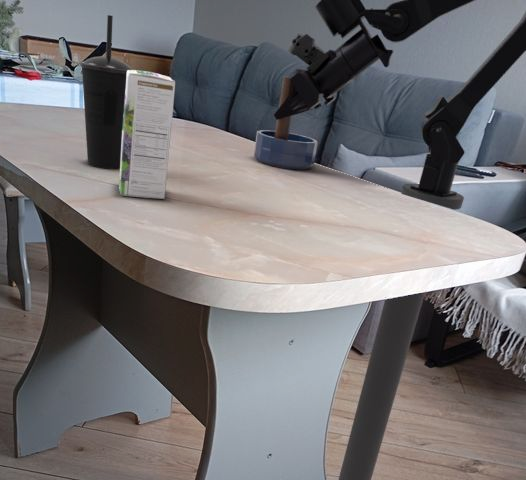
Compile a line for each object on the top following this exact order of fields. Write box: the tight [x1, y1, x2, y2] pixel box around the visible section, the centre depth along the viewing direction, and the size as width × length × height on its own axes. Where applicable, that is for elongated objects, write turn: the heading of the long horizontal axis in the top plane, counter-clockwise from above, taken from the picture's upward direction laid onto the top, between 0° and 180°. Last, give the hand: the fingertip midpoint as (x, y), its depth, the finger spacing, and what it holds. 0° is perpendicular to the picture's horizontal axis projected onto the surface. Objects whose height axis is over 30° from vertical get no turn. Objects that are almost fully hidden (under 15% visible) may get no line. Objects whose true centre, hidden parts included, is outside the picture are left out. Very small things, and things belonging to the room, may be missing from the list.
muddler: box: [274, 75, 293, 140], centre depth 113 cm, size 3×3×14 cm
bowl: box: [253, 129, 319, 171], centre depth 117 cm, size 11×11×5 cm
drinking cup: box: [79, 14, 135, 170], centre depth 88 cm, size 8×8×20 cm
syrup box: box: [118, 69, 176, 200], centre depth 78 cm, size 6×6×14 cm
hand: (277, 116), depth 113 cm, fingers closed on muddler, 2 cm apart
